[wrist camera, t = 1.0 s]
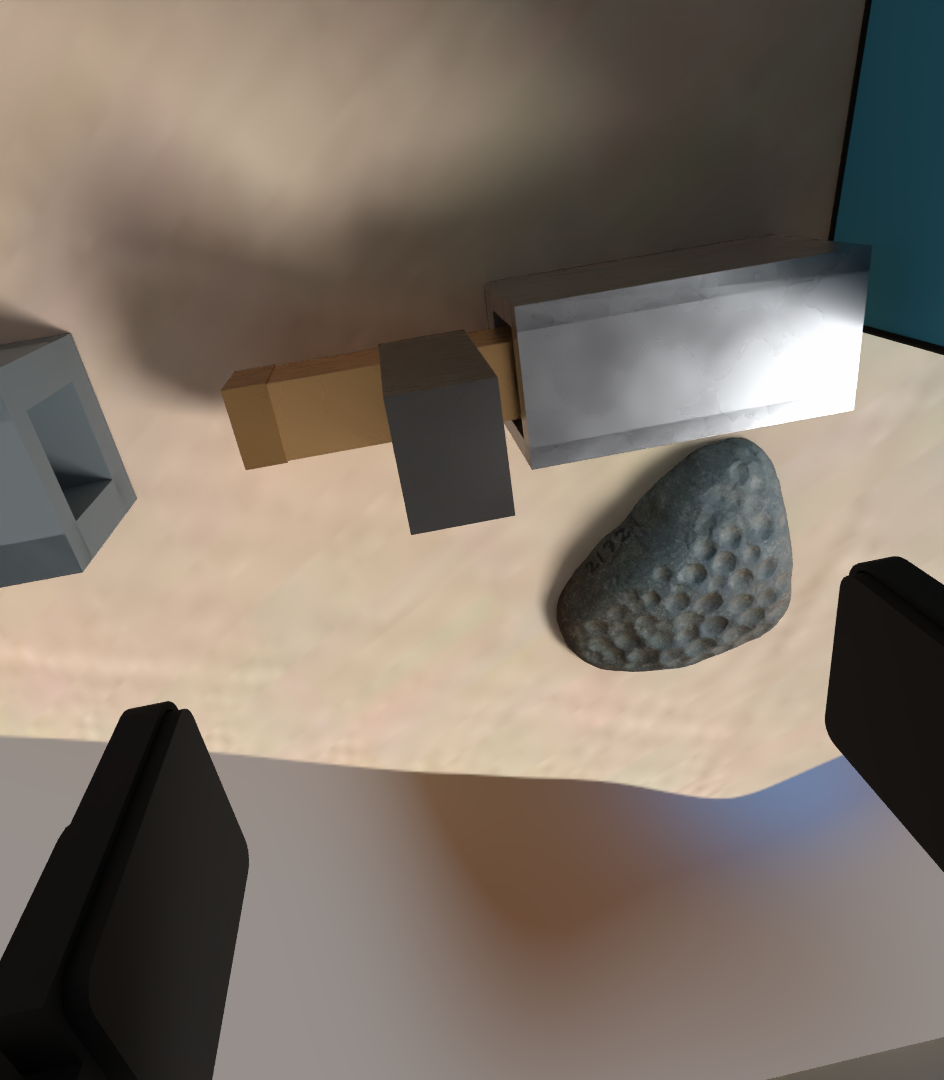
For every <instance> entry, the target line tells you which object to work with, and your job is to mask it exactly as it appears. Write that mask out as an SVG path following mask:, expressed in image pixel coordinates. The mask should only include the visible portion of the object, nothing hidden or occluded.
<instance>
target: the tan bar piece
mask: <svg viewBox="0 0 944 1080" xmlns="http://www.w3.org/2000/svg"><path fill="white" fill-rule="evenodd" d="M378 347H379V348H376V349H371V350H365V351H359V352H353V353H348V354H342V355H336V356H330V357H325V358H319V359H313V360H307V361H301V362H296V363H290V364H284V365H278V366H275V365H269V366H263V367H257V368H251V369H246V370H240V371H235V372H234V373H233V375H232V376H231V378H230V379H229V380H228V382H227V383H226V385H225V386H224V387H223V389H222V390H221V393H222V396H223V399H224V402H225V406H226V409H227V412H228V415H229V418H230V422H231V425H232V428H233V431H234V434H235V438H236V441H237V444H238V447H239V450H240V454H241V457H242V460H243V463H244V466H245V469H246V470H250V469H255V468H261V467H266V466H272V465H277V464H283V463H288V461H289V460H295V459H300V458H306V457H311V456H317V455H322V454H328V453H333V452H339V451H344V450H350V449H355V448H361V447H366V446H372V445H377V444H383V443H388V442H392V444H393V449H394V453H395V458H396V463H397V468H398V473H399V478H400V483H401V488H402V492H403V497H404V502H405V507H406V512H407V517H408V522H409V527H410V532H411V535H414V534H420V533H425V532H430V531H435V530H441V529H446V528H451V527H457V526H462V525H467V524H472V523H478V522H483V521H488V520H494V519H499V518H504V517H509V516H515V510H514V502H513V494H512V486H511V478H510V470H509V462H508V454H507V446H506V438H505V430H504V421H510V420H515V419H521V418H522V417H521V408H520V400H519V391H518V382H517V373H516V364H515V355H514V346H513V337H512V328H511V326H510V325H509V326H503V327H498V328H492V329H486V330H480V331H475V332H469V333H466V332H465V331H464V329H463V330H458V331H452V332H446V333H440V334H434V335H429V336H423V337H417V338H411V339H406V340H400V341H394V342H388V343H382V344H378Z"/></svg>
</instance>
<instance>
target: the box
mask: <svg viewBox="0 0 944 1080" xmlns="http://www.w3.org/2000/svg"><path fill="white" fill-rule="evenodd" d="M828 241H836V242H845V243H855V244H864V245H872V254H871V262H870V271H869V280H868V288H867V297H866V306H865V315H864V323H863V332H864V333H867V334H871V335H875V336H878V337H882V338H885V339H889V340H892V341H896V342H899V343H903V344H906V345H910V346H913V347H917V348H920V349H924V350H927V351H931V352H934V353H938V354H941V355H944V0H866V3H865V9H864V16H863V22H862V28H861V35H860V41H859V48H858V54H857V60H856V67H855V73H854V79H853V86H852V92H851V99H850V105H849V111H848V118H847V124H846V131H845V137H844V143H843V150H842V156H841V162H840V169H839V175H838V182H837V188H836V194H835V201H834V207H833V213H832V220H831V226H830V233H829V239H828Z"/></svg>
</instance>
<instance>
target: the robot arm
mask: <svg viewBox="0 0 944 1080" xmlns="http://www.w3.org/2000/svg"><path fill="white" fill-rule="evenodd" d="M825 725H826V729H827V732H828V735H829V737H830V739H831V740H832V742H833V743H834V745H835V746H836V747H837V748H838V749H839V751H840V752H841V753H842V754H843V755H844V756H845V758H847V760H848V761H849V762H850V763H851V765H852V766H853V767H854V768H855V769H856V770H857V771H858V773H859V774H860V775H861V776H862V777H863V779H864V780H865V781H866V782H867V783H868V784H869V786H870V787H871V788H872V789H873V790H874V791H875V793H876V794H877V795H878V796H879V797H880V798H881V800H882V801H883V802H884V803H885V804H886V805H887V807H888V808H889V809H890V810H891V811H892V812H893V814H894V815H895V816H896V817H897V818H898V819H899V821H900V822H901V823H902V824H903V825H904V826H905V828H906V829H907V830H908V831H909V832H910V833H911V835H912V836H913V837H914V838H915V839H916V840H917V842H918V843H919V844H920V845H921V846H922V847H923V849H924V850H925V851H926V852H927V853H928V854H929V856H930V857H931V858H932V859H933V860H934V861H935V863H936V864H937V865H938V866H939V867H940V868H941V870H942V871H943V872H944V585H943V584H942V583H940V582H939V581H937V580H936V579H934V578H933V577H931V576H930V575H928V574H927V573H925V572H924V571H922V570H921V569H919V568H918V567H916V566H915V565H913V564H912V563H910V562H909V561H907V560H906V559H904V558H901V557H897V556H893V557H888V558H883V559H878V560H873V561H868V562H863V563H858V564H856V565H854V566H853V567H852V569H851V570H850V573H849V576H846V577H844V578H843V580H842V581H841V584H840V590H839V599H838V608H837V617H836V625H835V634H834V643H833V652H832V660H831V669H830V678H829V686H828V695H827V704H826V713H825ZM248 868H249V855H248V848H247V844H246V841H245V838H244V836H243V834H242V831H241V829H240V826H239V824H238V822H237V819H236V817H235V814H234V812H233V810H232V807H231V805H230V803H229V800H228V798H227V796H226V793H225V791H224V788H223V786H222V784H221V781H220V779H219V776H218V774H217V772H216V769H215V767H214V765H213V762H212V760H211V758H210V755H209V753H208V750H207V748H206V746H205V743H204V741H203V738H202V736H201V734H200V731H199V729H198V727H197V724H196V722H195V719H194V717H193V715H192V713H191V712H190V711H189V710H188V709H181V710H178V708H177V707H176V705H175V704H174V703H173V702H169V701H167V702H162V703H157V704H152V705H147V706H142V707H137V708H132V709H128V710H126V711H124V713H123V714H122V716H121V717H120V719H119V722H118V724H117V726H116V728H115V730H114V732H113V734H112V736H111V739H110V741H109V743H108V745H107V747H106V749H105V751H104V753H103V756H102V758H101V760H100V762H99V764H98V766H97V768H96V771H95V773H94V775H93V777H92V779H91V781H90V784H89V786H88V788H87V790H86V792H85V794H84V796H83V798H82V801H81V802H80V805H79V807H78V809H77V811H76V814H75V815H74V817H73V819H72V822H71V824H70V825H69V826H67V827H66V828H65V830H64V831H63V833H62V834H61V836H60V838H59V839H58V841H57V843H56V845H55V847H54V849H53V851H52V854H51V856H50V858H49V860H48V862H47V864H46V866H45V868H44V870H43V872H42V874H41V876H40V879H39V881H38V883H37V885H36V887H35V889H34V891H33V893H32V895H31V898H30V900H29V902H28V904H27V906H26V908H25V910H24V912H23V914H22V916H21V918H20V921H19V923H18V925H17V927H16V929H15V931H14V933H13V935H12V937H11V940H10V941H9V944H8V946H7V948H6V950H5V952H4V954H3V956H2V958H1V960H0V1080H212V1077H213V1071H214V1065H215V1059H216V1054H217V1048H218V1042H219V1037H220V1031H221V1025H222V1019H223V1014H224V1008H225V1002H226V996H227V990H228V985H229V979H230V973H231V967H232V962H233V955H234V950H235V944H236V939H237V933H238V927H239V921H240V915H241V910H242V904H243V898H244V892H245V887H246V880H247V875H248ZM768 1080H944V1037H943V1038H939V1039H935V1040H930V1041H926V1042H922V1043H918V1044H914V1045H909V1046H906V1047H901V1048H897V1049H892V1050H888V1051H884V1052H880V1053H875V1054H871V1055H867V1056H863V1057H859V1058H855V1059H850V1060H846V1061H842V1062H838V1063H834V1064H830V1065H826V1066H822V1067H817V1068H813V1069H809V1070H805V1071H801V1072H797V1073H793V1074H788V1075H785V1076H780V1077H776V1078H772V1079H768Z"/></svg>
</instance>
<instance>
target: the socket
mask: <svg viewBox="0 0 944 1080" xmlns="http://www.w3.org/2000/svg"><path fill="white" fill-rule="evenodd" d="M136 499H137V498H136V495H135V493H134V490H133V488H132V485H131V483H130V480H129V478H128V475H127V473H126V470H125V468H124V465H123V463H122V460H121V458H120V455H119V452H118V450H117V447H116V445H115V442H114V440H113V437H112V435H111V432H110V430H109V427H108V425H107V422H106V420H105V417H104V415H103V412H102V410H101V407H100V405H99V402H98V400H97V397H96V395H95V392H94V390H93V387H92V385H91V382H90V380H89V377H88V375H87V372H86V370H85V367H84V365H83V362H82V360H81V357H80V355H79V352H78V350H77V347H76V345H75V342H74V340H73V337H72V335H71V333H70V334H64V335H58V336H52V337H46V338H40V339H34V340H28V341H22V342H16V343H10V344H4V345H0V588H1V587H6V586H12V585H17V584H22V583H28V582H33V581H38V580H44V579H49V578H54V577H60V576H65V575H70V574H76V573H81V572H83V571H84V570H85V568H86V567H87V566H88V564H89V563H90V562H91V560H92V559H93V558H94V556H95V555H96V554H97V552H98V551H99V550H100V548H101V547H102V545H103V544H104V543H105V541H106V540H107V539H108V537H109V536H110V535H111V533H112V532H113V531H114V529H115V528H116V527H117V525H118V524H119V522H120V521H121V520H122V518H123V517H124V516H125V514H126V513H127V512H128V510H129V509H130V508H131V506H132V505H133V504H134V502H135V501H136Z"/></svg>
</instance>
